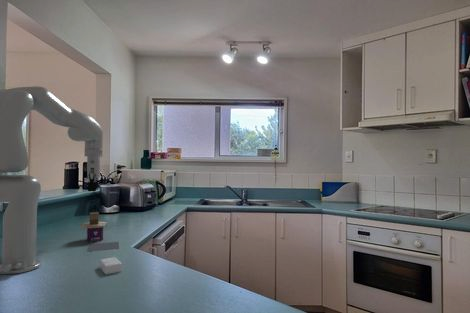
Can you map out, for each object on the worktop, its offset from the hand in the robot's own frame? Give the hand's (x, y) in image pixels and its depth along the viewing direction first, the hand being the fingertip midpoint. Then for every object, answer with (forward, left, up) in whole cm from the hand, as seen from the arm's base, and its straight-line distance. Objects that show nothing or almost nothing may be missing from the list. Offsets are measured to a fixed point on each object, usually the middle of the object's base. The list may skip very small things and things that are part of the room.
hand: (92, 190), depth 144 cm
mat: (-14, -5, -23) cm, 27 cm away
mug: (0, -1, -23) cm, 23 cm away
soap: (-44, -8, -24) cm, 50 cm away
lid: (0, -1, -16) cm, 16 cm away
